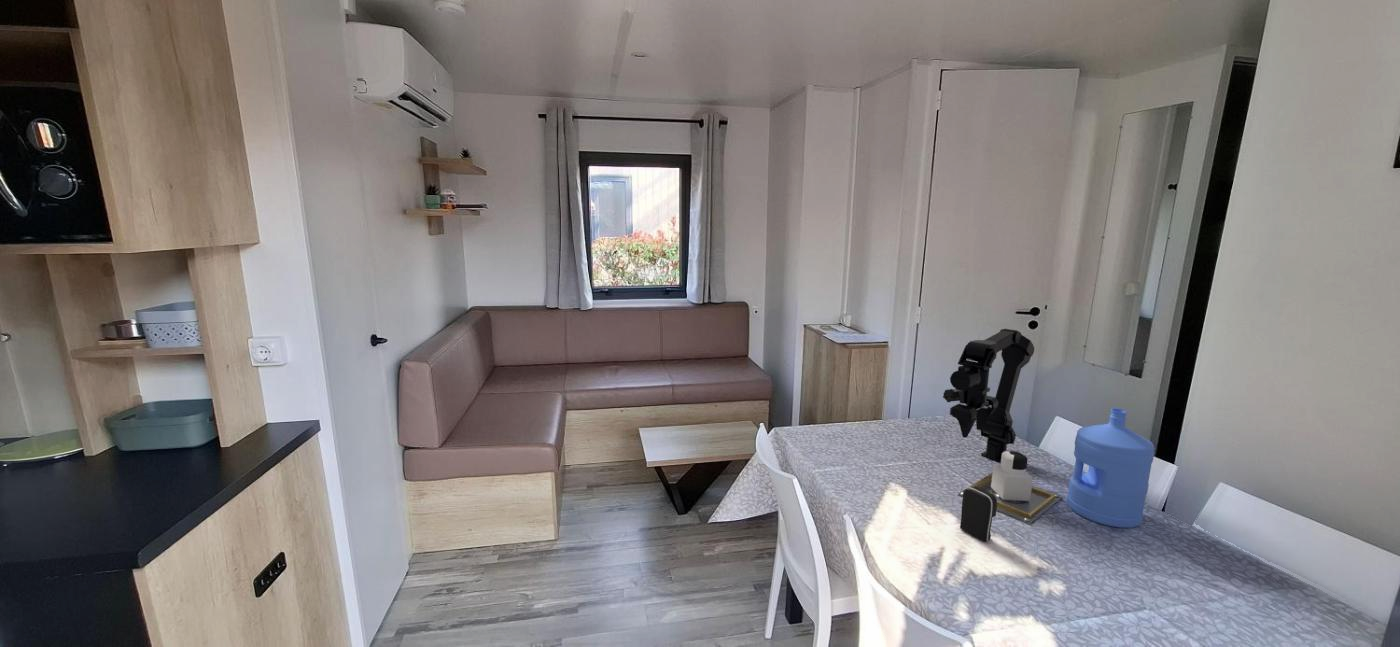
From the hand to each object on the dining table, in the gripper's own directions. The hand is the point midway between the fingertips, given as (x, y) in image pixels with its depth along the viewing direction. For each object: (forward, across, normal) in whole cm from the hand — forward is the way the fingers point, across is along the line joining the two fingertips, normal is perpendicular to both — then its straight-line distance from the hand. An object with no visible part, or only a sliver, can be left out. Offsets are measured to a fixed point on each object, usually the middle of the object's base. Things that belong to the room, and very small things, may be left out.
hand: (971, 433), depth 152 cm
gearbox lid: (+12, +7, +14) cm, 20 cm away
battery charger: (+12, +33, +17) cm, 39 cm away
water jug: (+12, -4, +32) cm, 35 cm away
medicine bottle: (+12, +6, +14) cm, 20 cm away
